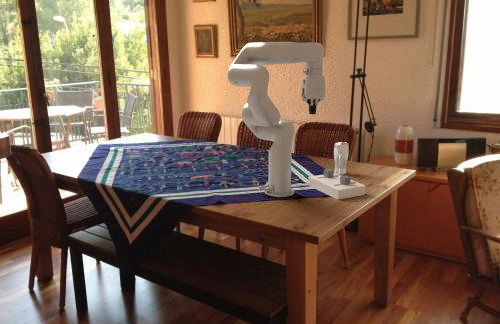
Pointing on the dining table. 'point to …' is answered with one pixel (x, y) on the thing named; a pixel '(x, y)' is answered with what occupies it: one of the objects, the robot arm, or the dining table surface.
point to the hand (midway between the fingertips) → (312, 113)
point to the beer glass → (340, 157)
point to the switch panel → (336, 186)
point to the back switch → (328, 173)
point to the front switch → (345, 179)
